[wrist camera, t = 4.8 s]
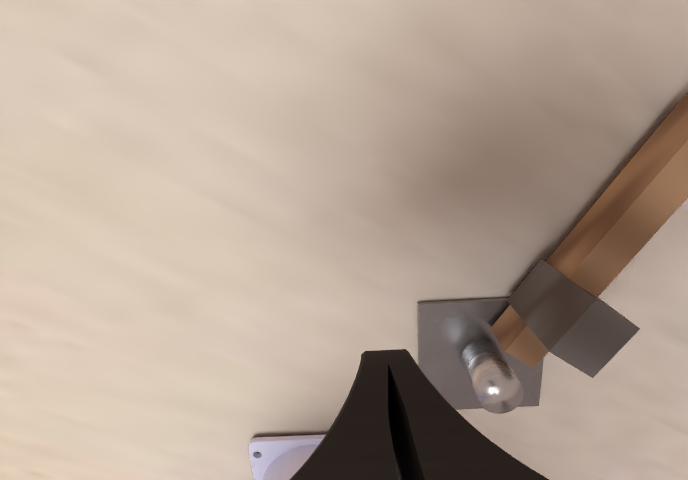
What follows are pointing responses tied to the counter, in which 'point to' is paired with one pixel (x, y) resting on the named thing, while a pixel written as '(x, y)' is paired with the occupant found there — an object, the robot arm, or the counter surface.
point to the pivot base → (456, 334)
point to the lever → (598, 259)
